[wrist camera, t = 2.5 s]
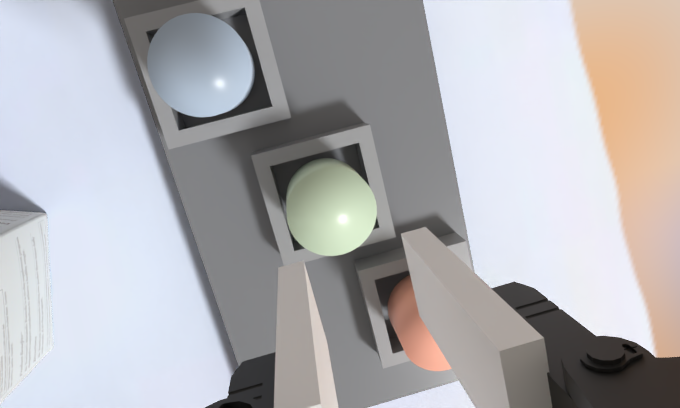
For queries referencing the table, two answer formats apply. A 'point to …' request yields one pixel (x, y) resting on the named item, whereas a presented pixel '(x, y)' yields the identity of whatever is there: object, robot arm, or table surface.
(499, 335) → the robot arm
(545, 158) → the table surface
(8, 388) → the supplement box
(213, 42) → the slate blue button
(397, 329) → the coral button
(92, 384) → the table surface
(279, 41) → the panel
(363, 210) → the sage button
